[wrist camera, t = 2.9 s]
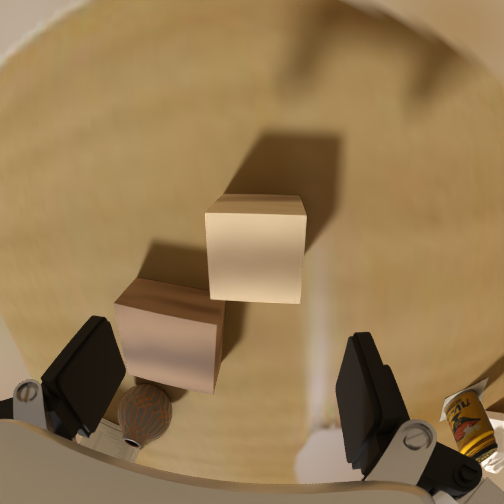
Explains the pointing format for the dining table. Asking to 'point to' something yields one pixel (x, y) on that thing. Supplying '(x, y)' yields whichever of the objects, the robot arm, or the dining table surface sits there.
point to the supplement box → (110, 442)
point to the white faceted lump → (500, 424)
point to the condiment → (470, 422)
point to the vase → (144, 415)
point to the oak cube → (256, 247)
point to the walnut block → (171, 334)
